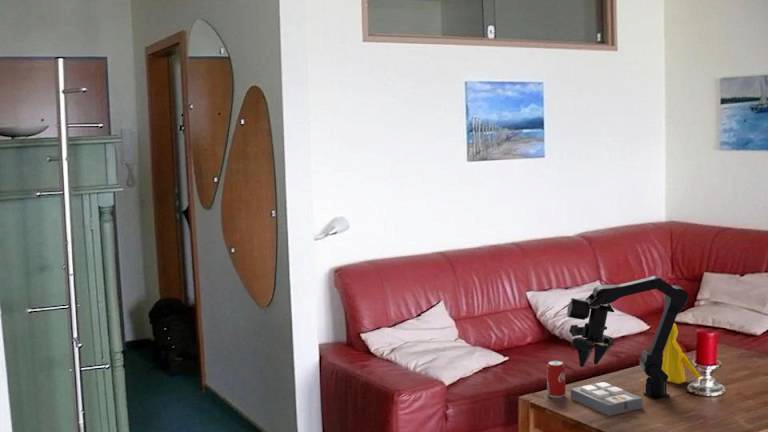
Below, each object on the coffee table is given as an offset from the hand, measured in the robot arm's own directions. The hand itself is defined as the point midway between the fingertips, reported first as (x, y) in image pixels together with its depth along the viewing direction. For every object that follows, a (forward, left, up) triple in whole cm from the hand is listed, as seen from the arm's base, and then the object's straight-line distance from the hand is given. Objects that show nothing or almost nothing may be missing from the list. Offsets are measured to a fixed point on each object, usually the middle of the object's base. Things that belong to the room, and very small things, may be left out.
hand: (588, 365), depth 288 cm
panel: (-1, +7, -12) cm, 14 cm away
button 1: (+2, +2, -9) cm, 10 cm away
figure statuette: (-37, +2, -12) cm, 39 cm away
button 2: (+2, +8, -9) cm, 13 cm away
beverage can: (+8, -8, -12) cm, 16 cm away
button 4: (-4, +8, -9) cm, 13 cm away
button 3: (-4, +2, -9) cm, 11 cm away
